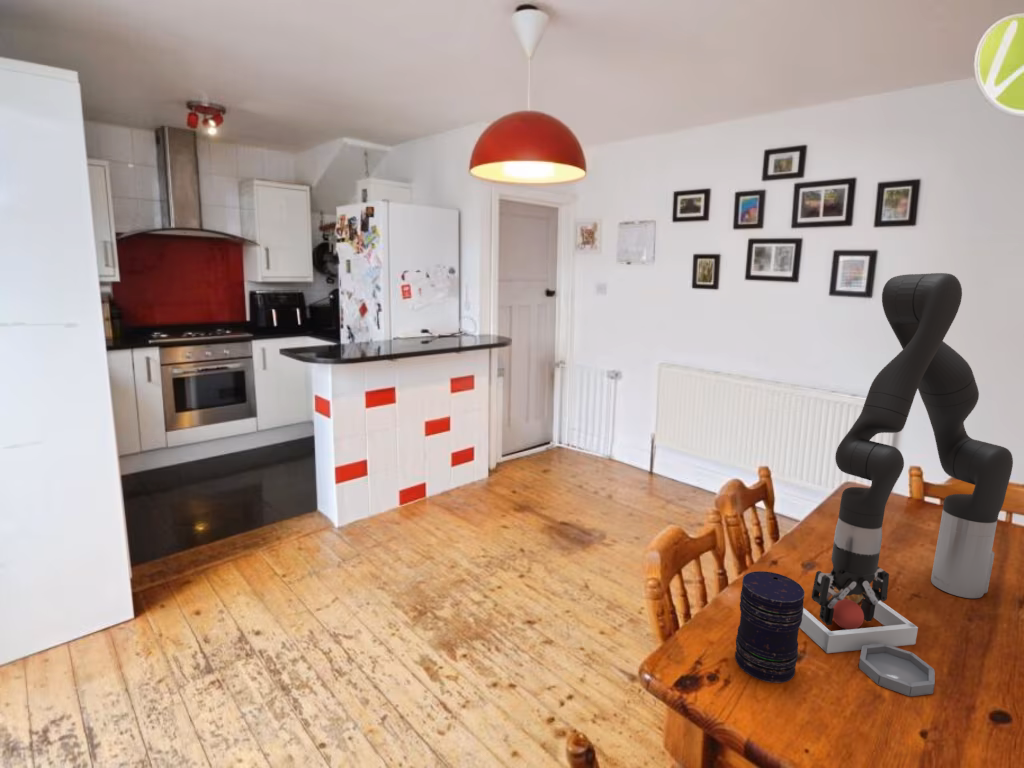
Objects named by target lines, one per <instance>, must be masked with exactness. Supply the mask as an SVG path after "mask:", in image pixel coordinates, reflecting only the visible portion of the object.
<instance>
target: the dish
mask: <svg viewBox="0 0 1024 768" xmlns="http://www.w3.org/2000/svg"><path fill="white" fill-rule="evenodd" d="M858 661H859V662H858V668H859V669H860V671H862V672H863V673H864V674H865V675H866V676H868V678H870V680H872V681H873V682H874V683H876V685H878V686H880V687H882V688H885V689H888V690H890V691H893V692H896V693H900V694H902V695H904V696H907V697H918V696H925V695H933V694H934V689H935V683H936V682H935V678H936V677H935V676H936V675H935V674H936V673H935V672H936V671H935V669H934V668H933V667H932V665H929V664H928V663H927V662H926V661H924V660H923V659H921V657H919V656H918V655H917V654H915V653H913V652H912V651H909V650H905V649H902V648H899V647H898V646H894V647H893V646H890V645H887V644H884V643H882V644H872V645H863V646H862V650H861V651H860V656H859V660H858Z"/></svg>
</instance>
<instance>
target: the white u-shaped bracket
mask: <svg viewBox="0 0 1024 768" xmlns="http://www.w3.org/2000/svg"><path fill="white" fill-rule="evenodd" d="M873 619H875V620H876V621H878V622H879V623H880V624H881V625H882V626H873V627H871V626H870V627H861V628H860V627H859V628H857V629H849V630H848V629H840V630H832V631H831V630H830V629H828V627H827V626H825V624H823V622H821V621H820V620H818V619H817V618H816V617H815V616H814V615H813V614H812V613H810V611H808V610H807V609H806V608H804V607H803V615H802V622H801V624H800V626H799V629H800V630H802V631H803V632H804V633H805V635H807V636H808V637H809V638H810V639H811V640H812V641H813V642H814V643H815V644H816V645H818V646H819V647H820V649H822V650H823V651H824V652H825V654H832V653H833V654H835V653H844V652H852V651H860V650H862V646H863V645H872V644H882V643H884V644H887V645H890V646H893V647H902V646H913V645H916V642H917V636H918V629H919V627H918V626H917V625H916V624H914V623H913V622H911V621H909V620H908V619H907V618H906V617H904V616H903V615H902V614H900V613H899V612H897V611H896V610H894V609H893V608H891V607H890V606H889V605H887V604H886V603H884V601H882V600H880V601H878V603H877V604H876V605H875V611H874V616H873Z"/></svg>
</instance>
